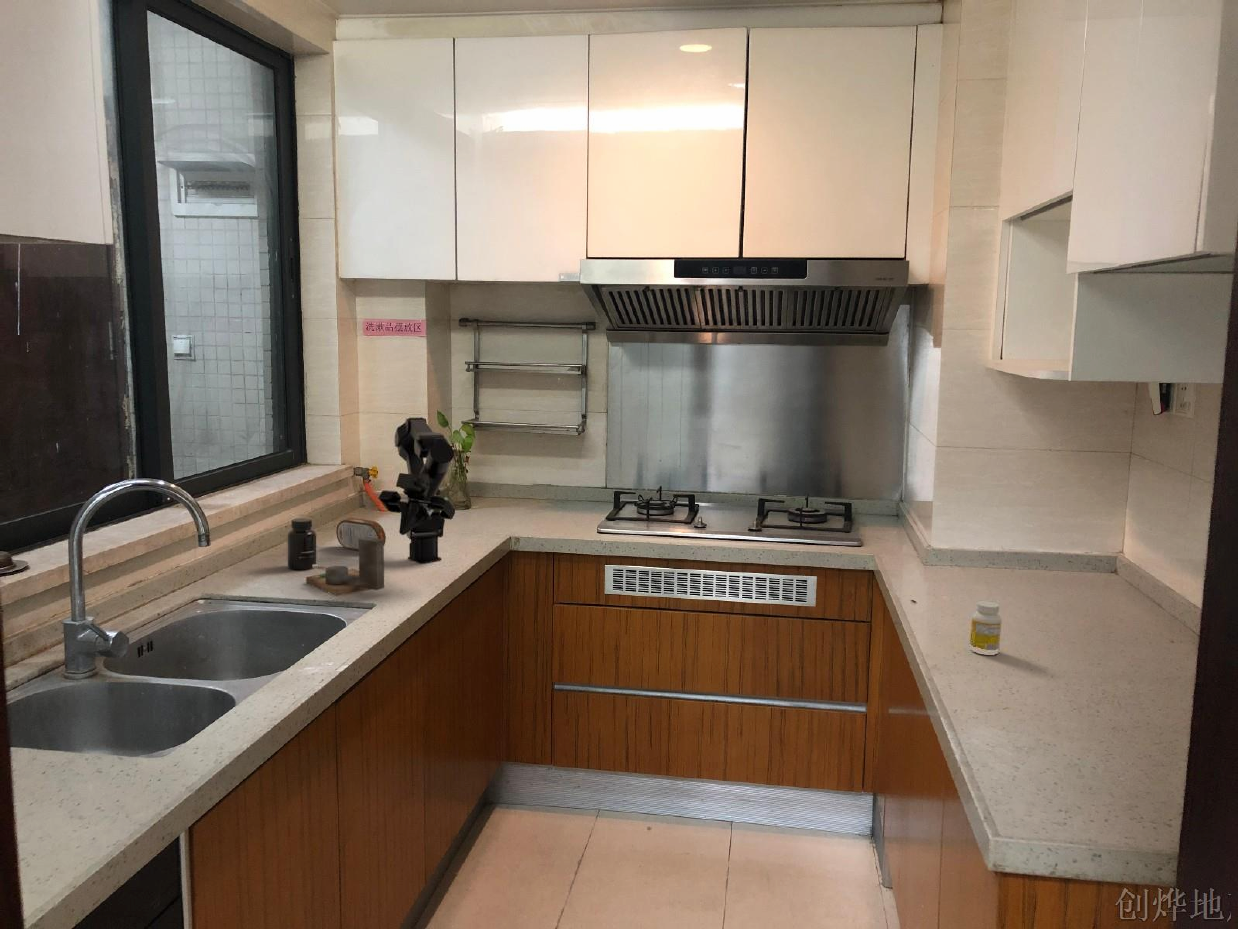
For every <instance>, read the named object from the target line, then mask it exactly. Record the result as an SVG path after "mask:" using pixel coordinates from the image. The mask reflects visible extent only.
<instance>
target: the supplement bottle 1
mask: <svg viewBox="0 0 1238 929" xmlns="http://www.w3.org/2000/svg"><path fill="white" fill-rule="evenodd" d="M290 525H291V526H290V527H291V530H289V531H288V533H287V535H286V536H287V538H286V539H287V540H286V542H287V544H286V545H287V551H286V553H287V568H288V569H290V570H292V571H307V570H312V569H313V568H312V565H314V564H315V565H317V533H316V531H315V530H313V529H312V528H313V520H312V518H308V517H307V518H305V517H304V518H301V517H300V518H293V519H291V524H290Z"/></svg>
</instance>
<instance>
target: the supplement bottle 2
mask: <svg viewBox="0 0 1238 929" xmlns="http://www.w3.org/2000/svg"><path fill="white" fill-rule="evenodd" d="M999 611H1000V605H999V604H998V603H996V602H993V601H986V600H983V601H977V602H976V611H975V612H974V613H973V614H972V616H971V626H970V627H971V629H970V639H969V640H970V641H969V645H970V644H971V645H972V646H973V647H978V648H981V649H985V650H996V649H998V648H999V649H1000V645H1001V644H1000V643H1001V642H1000V641H1001V631H1002V621H1003V620H1002V617H1001V616H1000V615H999Z"/></svg>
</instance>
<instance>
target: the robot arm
mask: <svg viewBox="0 0 1238 929" xmlns="http://www.w3.org/2000/svg"><path fill="white" fill-rule="evenodd" d="M394 446H395V447H396V448H397V452H398V456H399V457H400V458H401V459H403V460H404V461H405V463H406V467H407V473H403V472H402V473H401V472H400V473H398V476H397V481H396V483H395V487H396V488H401V489H403V491H402V492H403V494H404V495H406V496H404V495H400V493H399V492H398V491H397V490H388V489H385V490H382V491H381V492H380V495H379V496H378V497H377V498H378V500H379V502H380V503H381V504H382V505H383V506H384V508H385V509H386V510H387V511H388V512H390V513H396V514H400V523H399V534H400V535H401V536H406V537H407V538H408V539H409V540H410V543H409V547H408V548H409V554H408V555H409V556H408V557H407V560H410V561H412V562H415V563H418V564H427V563H431V562H430V561H433V562H437V561H436V560H438V561H441V560H442V557H441V556H440V557H439V538H443V536H444V528H445V524H446V523H445V522H446V520H452V519H453V518H454V516H455V514H456V508H455V506H454V505H453V503H452V502H451V501H450V499H449V498H448V496H440V494H441V493H442V491H441V490H440V487H441V485H442V483H443V481H444V479H445V477H446V475H447V473H448V472H449V469H450V466H451V464H452V462H453V460H454V457H455V451H454V448H453V447H452V446H451V444H450V443H449V442H448V440H447V438H445V436H444V434H443V433H441V432H434V431H433V430H432V428H431V427H430V426H429V424H428V422H427V419H426V418H424V417H408V418H406V419H405V422H404V423H403V424H401V425H399V426H398V427H397V428H396V430H395V433H394ZM424 459H425V461H424ZM426 562H427V563H426Z"/></svg>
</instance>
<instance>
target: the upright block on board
mask: <svg viewBox="0 0 1238 929" xmlns="http://www.w3.org/2000/svg"><path fill="white" fill-rule="evenodd" d="M384 546H385V545H384V540H382V539H375V538H369V537H364V538H361V539H359V551H358V571H359V575H354V574H348V569H349V567H348V566H345V565H332V566H326V565H320V564H316V565H315V564H314V565H312V569H320V570H324V571H325V578H326V583H328V584H343V583H352V584H358V585H359V587H362V588H367V589H369V590H374V591H380V590H382V589H384V588H385V555H384V554H385V552H384V551H385V550H384V548H385V547H384Z"/></svg>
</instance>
